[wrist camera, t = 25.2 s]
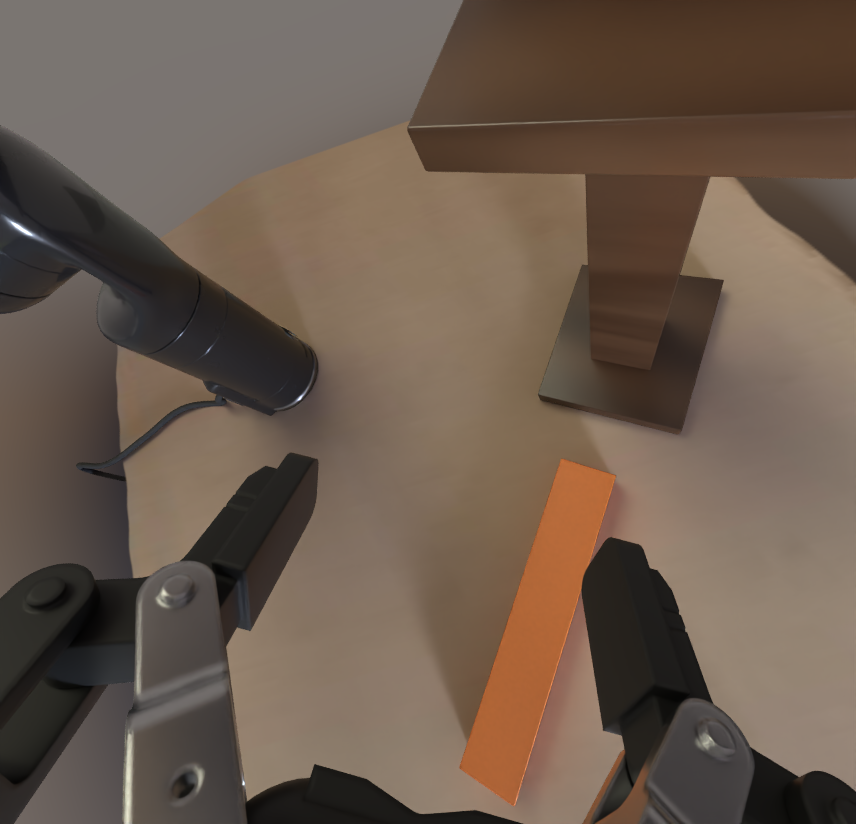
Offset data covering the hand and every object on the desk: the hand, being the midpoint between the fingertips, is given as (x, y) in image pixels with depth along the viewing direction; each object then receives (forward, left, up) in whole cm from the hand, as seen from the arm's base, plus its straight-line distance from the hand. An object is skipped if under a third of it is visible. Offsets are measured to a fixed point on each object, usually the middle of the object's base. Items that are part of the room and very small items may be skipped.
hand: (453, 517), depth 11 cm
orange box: (-5, -4, -28) cm, 29 cm away
